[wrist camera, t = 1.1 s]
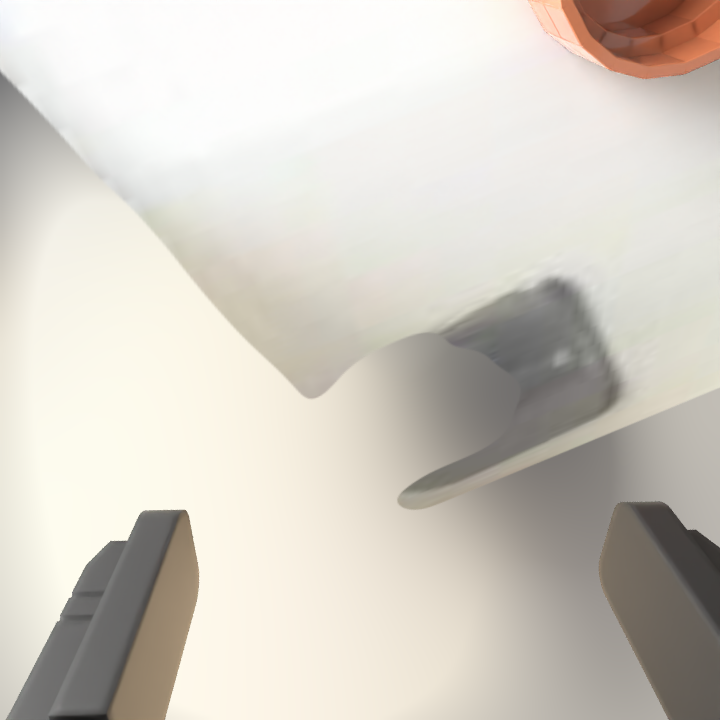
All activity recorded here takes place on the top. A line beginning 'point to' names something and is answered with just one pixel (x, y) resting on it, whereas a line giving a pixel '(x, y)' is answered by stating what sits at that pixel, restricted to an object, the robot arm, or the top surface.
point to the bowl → (636, 33)
